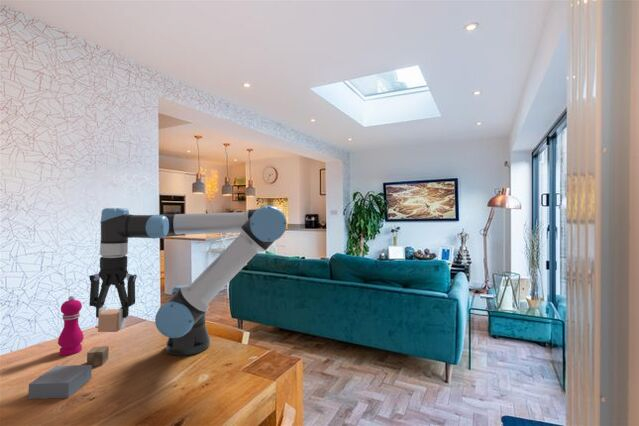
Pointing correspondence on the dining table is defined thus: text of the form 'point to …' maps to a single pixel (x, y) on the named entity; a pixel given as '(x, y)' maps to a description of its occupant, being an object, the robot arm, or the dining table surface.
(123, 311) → the robot arm
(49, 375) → the pedestal
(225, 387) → the dining table surface
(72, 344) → the pepper mill
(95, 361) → the walnut block
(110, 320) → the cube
